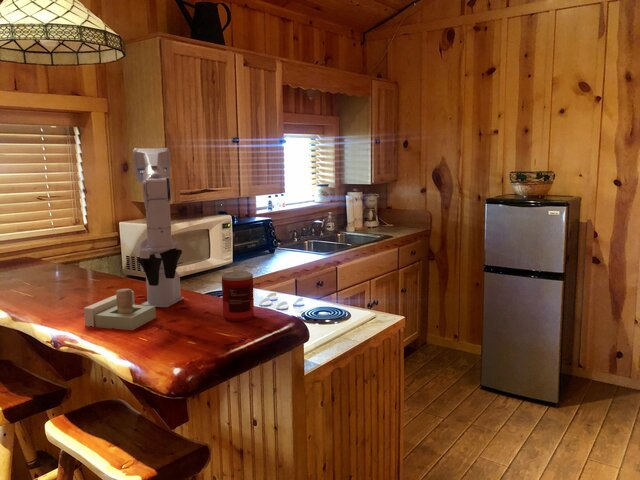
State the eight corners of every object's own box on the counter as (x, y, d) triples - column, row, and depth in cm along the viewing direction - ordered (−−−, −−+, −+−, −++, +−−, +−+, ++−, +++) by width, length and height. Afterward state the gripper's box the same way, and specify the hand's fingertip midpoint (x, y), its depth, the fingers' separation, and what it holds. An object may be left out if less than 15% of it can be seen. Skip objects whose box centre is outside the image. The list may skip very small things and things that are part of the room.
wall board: (127, 306, 147) (126, 290, 146) (135, 307, 146) (133, 291, 145) (85, 326, 130) (83, 308, 130) (93, 326, 130) (92, 308, 129)
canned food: (239, 310, 142) (237, 269, 140) (260, 316, 137) (259, 273, 135) (216, 317, 136) (214, 275, 134) (238, 323, 131) (236, 279, 129)
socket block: (121, 315, 139) (120, 303, 139) (155, 317, 136) (155, 306, 136) (95, 327, 129) (95, 315, 129) (132, 330, 127) (131, 317, 126)
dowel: (122, 319, 135) (119, 288, 134) (136, 320, 135) (134, 288, 133) (115, 324, 131) (113, 292, 130) (130, 324, 131) (127, 292, 130)
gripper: (157, 232, 124) (160, 289, 127) (188, 224, 138) (190, 275, 140) (130, 231, 126) (134, 288, 128) (163, 223, 140) (166, 274, 142)
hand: (162, 281), depth 134 cm, fingers open, 7 cm apart
